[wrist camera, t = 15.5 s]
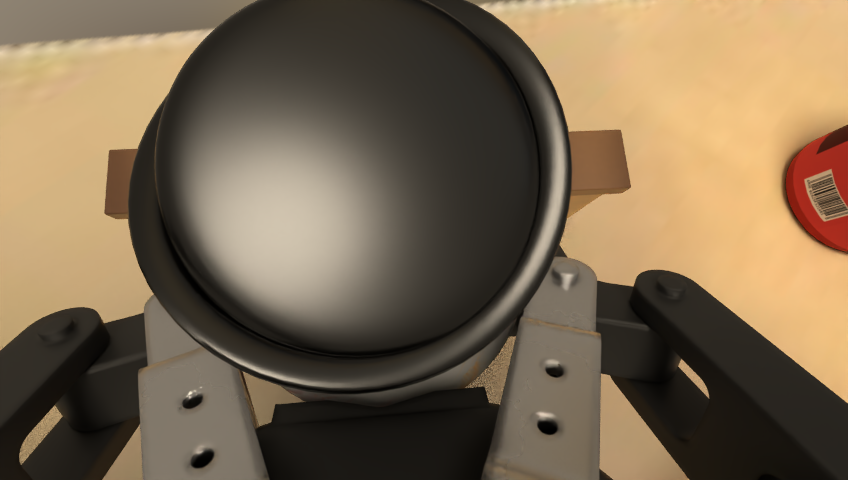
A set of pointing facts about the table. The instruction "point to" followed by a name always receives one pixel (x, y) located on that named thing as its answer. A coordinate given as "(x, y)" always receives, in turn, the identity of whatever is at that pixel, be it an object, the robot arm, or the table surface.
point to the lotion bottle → (353, 194)
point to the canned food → (822, 188)
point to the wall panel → (591, 171)
